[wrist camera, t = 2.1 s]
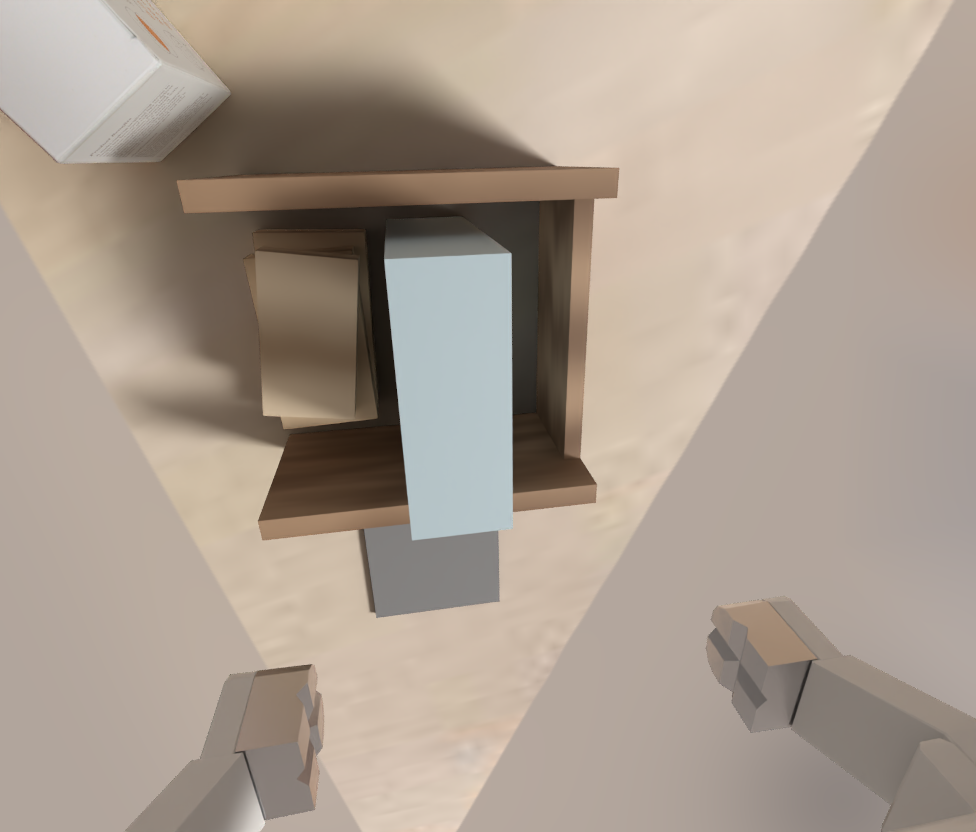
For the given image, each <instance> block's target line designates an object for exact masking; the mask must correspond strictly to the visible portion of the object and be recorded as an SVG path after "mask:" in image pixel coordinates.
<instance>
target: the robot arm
mask: <svg viewBox="0 0 976 832" xmlns="http://www.w3.org/2000/svg"><path fill="white" fill-rule="evenodd" d="M711 621H712V622H713V624H714V625H715V627H716V628H715V629H714V630H713V631H712V632H711V633H710V634H709V636H708V639H707V646H706V651H707V657H708V662H709V665H710V667H711V670H712V672H713V674H714V675H715V677H716V679H717V680H718V682H719V683H720V684H721V685H722V686H724V687H726V688H727V689H729V690H730V691H732V692H733V693H732V704H733V706H734V707H735V709H736V711H737V712H738V713H739V715H740V717H741V718H742V720H743V721H744V723H745V725H746V726H747V728H748V729H749V731H750V732H751V733H753V732H760V731H766V730H774V729H780V728H787V727H792V728H791V730H793V731H794V732H795V733H797V734H798V735H799V736H800V737H802V738H803V739H804V740H806V741H807V742H808V743H810V744H811V745H812V746H814V747H815V748H816V749H818V750H819V751H820V752H821V753H823V754H824V755H825V756H827V757H828V758H829V759H831V760H832V761H833V762H835V763H836V764H837V765H839V766H840V767H841V768H843V769H844V770H845V771H847V772H848V773H849V774H850V775H852V776H853V777H854V778H856V779H857V780H859V781H860V782H861V783H863V784H864V785H865V786H866V787H868V788H869V789H870V790H871V791H873V792H874V793H875V794H877V795H878V796H879V797H881V798H882V799H883V800H885V801H886V802H887V803H889V804H890V805H891V806H890V808H889V810H888V813H887V815H886V817H885V819H884V821H883V823H882V828H881V832H976V719H975V718H973V717H971V716H969V715H967V714H965V713H963V712H962V711H959V710H957V709H955V708H953V707H952V706H950V705H948V704H946V703H944V702H942V701H940V700H938V699H936V698H934V697H932V696H930V695H928V694H926V693H924V692H922V691H920V690H918V689H916V688H914V687H912V686H910V685H908V684H906V683H904V682H902V681H900V680H898V679H897V678H894V677H893V676H891V675H889V674H887V673H885V672H883V671H881V670H879V669H877V668H875V667H873V666H871V665H869V664H867V663H865V662H863V661H861V660H859V659H857V658H855V657H853V656H851V655H847V656H843V655H842V654H841V653H840V652H839V651H838V650H837V648H836V647H835V646H834V645H833V644H832V643H831V642H830V641H829V640H828V639H827V638H826V637H825V635H824V634H823V633H822V632H821V631H820V630H819V629H818V628H817V627H816V626H815V625H814V624H813V623H812V621H811V620H810V619H809V618H808V617H807V616H806V615H805V614H804V613H803V612H802V611H801V610H800V609H799V607H797V605H796V604H795V603H794V602H793V601H792V600H791V599H789V598H787V597H785V596H781V597H775V598H768V599H762V600H753V601H746V602H740V603H733V604H727V605H721V606H717V607H716V608H715V609H714V610H713V613H712V618H711ZM317 678H318V677H317V673H316V669H315V665H312V664H310V665H302V666H293V667H285V668H276V669H267V670H259V671H254V672H246V673H237V674H230V675H229V677H228V678H227V680H226V681H225V683H224V686H223V689H222V692H221V695H220V698H219V701H218V704H217V707H216V710H215V714H214V717H213V720H212V723H211V726H210V729H209V732H208V735H207V738H206V741H205V745H204V748H203V751H202V754H201V757H200V759H198V760H192V761H190V762H189V763H188V764H187V765H186V766H185V768H184V769H183V770H182V771H181V772H180V773H179V774H178V775H177V776H176V777H175V778H174V779H173V780H172V781H171V782H170V783H169V784H168V786H167V787H166V788H165V789H164V790H163V791H162V792H161V793H160V794H159V795H158V796H157V797H156V798H155V799H154V800H153V801H152V802H151V804H150V805H149V806H148V807H147V808H146V809H145V810H144V811H143V812H142V813H141V814H140V815H139V816H138V817H137V818H136V819H135V821H134V822H133V823H132V824H131V825H130V826H129V827H128V828H127V829H126V830H125V831H124V832H260V831H261V829H262V828H263V826H264V825H265V821H264V820H269V819H273V818H278V817H283V816H288V815H292V814H298V813H302V812H307V811H312V810H315V805H316V797H317V789H318V781H319V767H318V763H317V758H316V756H317V754H318V753H319V752H320V750H321V749H322V747H323V737H324V709H323V701H322V696H321V694H320V693H319V692H317V691H316V686H317Z"/></svg>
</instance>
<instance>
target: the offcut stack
mask: <svg viewBox="0 0 976 832" xmlns="http://www.w3.org/2000/svg"><path fill="white" fill-rule="evenodd" d="M252 236H253V243H254V249H255V254H250V255H249V256H247V257H246V258H244V259H243V262H244V266H245V270H246V274H247V278H248V283H249V287H250V291H251V295H252V299H253V304H254V308H255V312H256V316H257V320H258V325H259V345H260V364H261V384H262V404H263V416H280V417H281V421H282V425H283V429H284V430H285V429H293V428H302V427H310V426H319V425H327V424H336V423H344V422H353V421H361V420H370V419H378V388H377V375H376V362H375V348H374V335H373V322H372V309H371V296H370V283H369V270H368V256H367V243H366V230H365V229H298V230H257V231H255V232H253V233H252Z"/></svg>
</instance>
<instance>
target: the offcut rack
mask: <svg viewBox="0 0 976 832" xmlns="http://www.w3.org/2000/svg"><path fill="white" fill-rule="evenodd" d="M618 178H619V168H600V167H563V166H550V167H514V168H477V169H441V170H404V171H367V172H331V173H294V174H258V175H234V176H222V177H211V178H199V179H188V180H177V185H178V190H179V194H180V198H181V202H182V206H183V210H184V213H207V212H235V211H263V210H291V209H319V208H347V207H375V206H403V205H431V204H458V203H486V202H514V201H540V207H539V272H538V337H537V402H536V413H526V414H515V415H512V461H513V512H518V511H526V510H535V509H544V508H553V507H562V506H570V505H579V504H588V503H596V490H597V484H596V482H595V481H594V479H593V478H592V476H591V474H590V473H589V471H588V470H587V468H586V467H585V465H584V464H583V462H582V460H581V459H580V452H581V434H582V415H583V397H584V378H585V360H586V341H587V323H588V305H589V286H590V268H591V249H592V231H593V212H594V199H598V198H617V192H618ZM258 524H259V528H260V532H261V536H262V540H271V539H279V538H288V537H297V536H306V535H315V534H323V533H332V532H341V531H350V530H359V529H368V528H376V527H385V526H394V525H403V524H410V515H409V505H408V495H407V485H406V475H405V465H404V454H403V444H402V434H401V425H391V426H380V427H369V428H357V429H346V430H335V431H324V432H313V433H301V434H290V435H289V438H288V441H287V443H286V446H285V449H284V452H283V454H282V457H281V460H280V462H279V465H278V468H277V471H276V473H275V476H274V479H273V482H272V484H271V487H270V490H269V493H268V495H267V498H266V501H265V503H264V506H263V509H262V512H261V514H260V517H259V520H258Z"/></svg>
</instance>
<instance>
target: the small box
mask: <svg viewBox="0 0 976 832" xmlns="http://www.w3.org/2000/svg"><path fill="white" fill-rule="evenodd" d="M230 94H231V92H230V90H229V89H228V88H227V87H226V85H225V84H224V83H223V82H222V81H221V80H220V79H219V78H218V76H217V75H216V74H215V73H214V72H213V71H212V70H211V69H210V67H209V66H208V65H207V64H206V63H205V62H204V60H203V59H202V58H201V57H200V56H199V55H198V54H197V52H196V51H195V50H194V49H193V48H192V47H191V45H190V44H189V43H188V42H187V41H186V40H185V39H184V37H183V36H182V35H181V34H180V33H179V32H178V31H177V29H176V28H175V27H174V26H173V25H172V24H171V23H170V21H169V20H168V19H167V18H166V17H165V16H164V15H163V13H162V12H161V11H160V10H159V9H158V8H157V7H156V5H155V4H154V3H153V2H152V1H151V0H0V110H1V111H3V112H4V113H5V114H6V115H7V116H8V117H9V118H10V119H11V120H12V121H13V122H14V123H15V124H16V125H17V126H19V127H20V128H21V129H22V130H23V131H24V132H25V133H26V134H27V135H28V136H29V137H30V138H31V139H32V140H34V141H35V142H36V143H37V144H38V145H39V146H40V147H41V148H42V149H43V150H44V151H45V152H47V153H48V154H49V155H50V156H51V157H52V158H53V159H54V160H55V161H56V162H57V163H61V164H69V163H128V162H160V161H162V160H163V159H164V158H165V157H166V156H167V155H168V154H169V153H170V152H172V151H173V150H174V149H175V148H176V147H177V146H178V145H179V144H180V143H181V142H182V141H183V140H184V139H185V138H186V137H187V136H188V135H190V134H191V133H192V132H193V131H194V130H195V129H196V128H197V127H198V126H199V125H200V124H201V123H202V122H203V121H204V120H205V119H206V118H207V117H208V116H209V115H210V114H211V113H212V112H213V111H215V110H216V109H217V108H218V107H219V106H220V105H221V104H222V103H223V102H224V101H225V100H226V99H227V98H228V97H229V96H230Z"/></svg>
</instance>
